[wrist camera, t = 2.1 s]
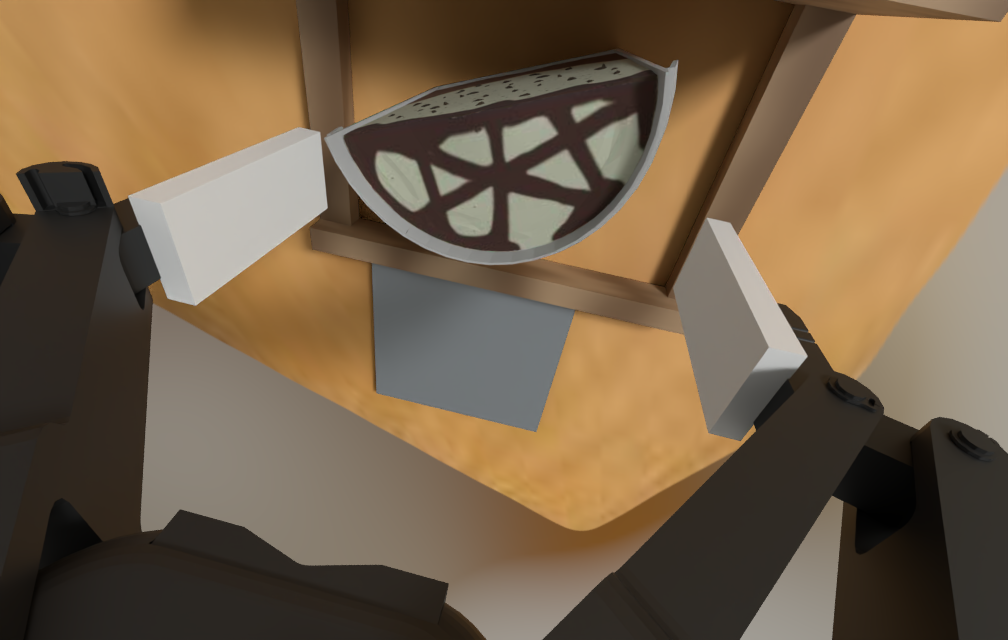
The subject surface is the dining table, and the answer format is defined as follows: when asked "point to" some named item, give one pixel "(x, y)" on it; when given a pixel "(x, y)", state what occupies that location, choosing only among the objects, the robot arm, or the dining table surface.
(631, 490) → the dining table surface
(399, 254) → the wooden frame
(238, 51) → the dining table surface
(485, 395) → the mat
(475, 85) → the food container
